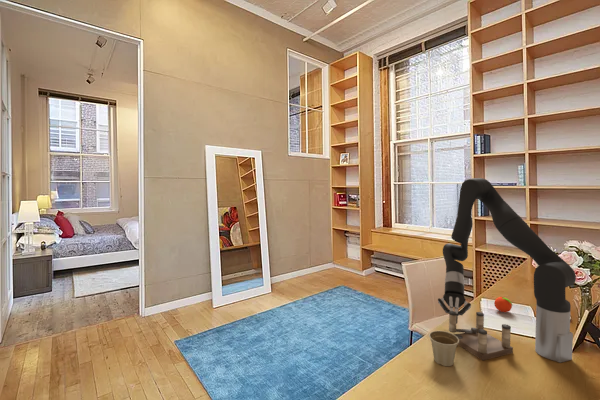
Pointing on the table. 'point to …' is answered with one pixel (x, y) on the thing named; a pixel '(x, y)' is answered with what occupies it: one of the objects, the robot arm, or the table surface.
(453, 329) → the swing leg
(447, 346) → the flower pot
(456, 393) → the table surface
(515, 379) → the table surface
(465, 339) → the stool
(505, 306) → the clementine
